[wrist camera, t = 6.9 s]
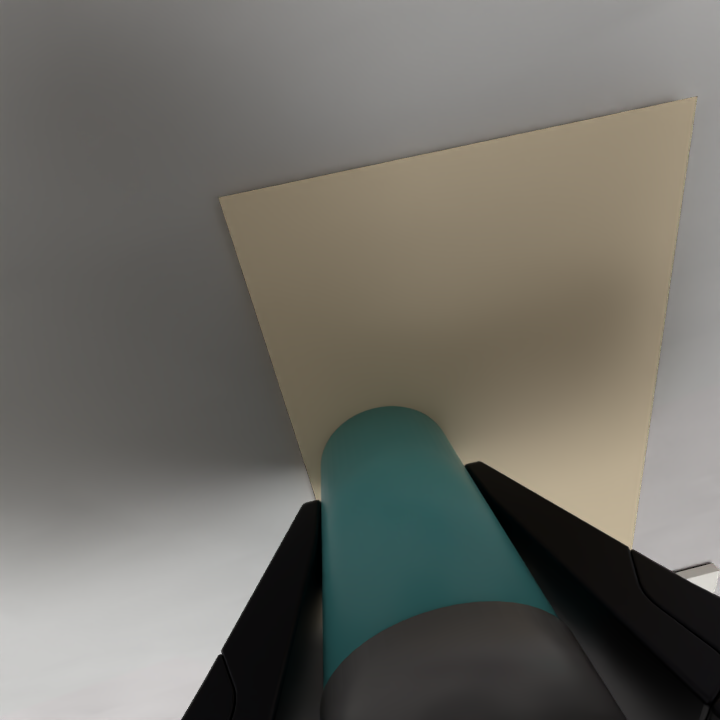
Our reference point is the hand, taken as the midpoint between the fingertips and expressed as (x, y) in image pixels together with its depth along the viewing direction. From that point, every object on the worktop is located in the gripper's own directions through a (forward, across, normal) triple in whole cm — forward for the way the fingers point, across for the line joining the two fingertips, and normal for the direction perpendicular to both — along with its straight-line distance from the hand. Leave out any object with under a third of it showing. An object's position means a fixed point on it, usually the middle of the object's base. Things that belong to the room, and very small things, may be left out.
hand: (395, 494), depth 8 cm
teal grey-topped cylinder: (+1, 0, 0) cm, 1 cm away
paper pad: (+2, -3, 0) cm, 3 cm away
